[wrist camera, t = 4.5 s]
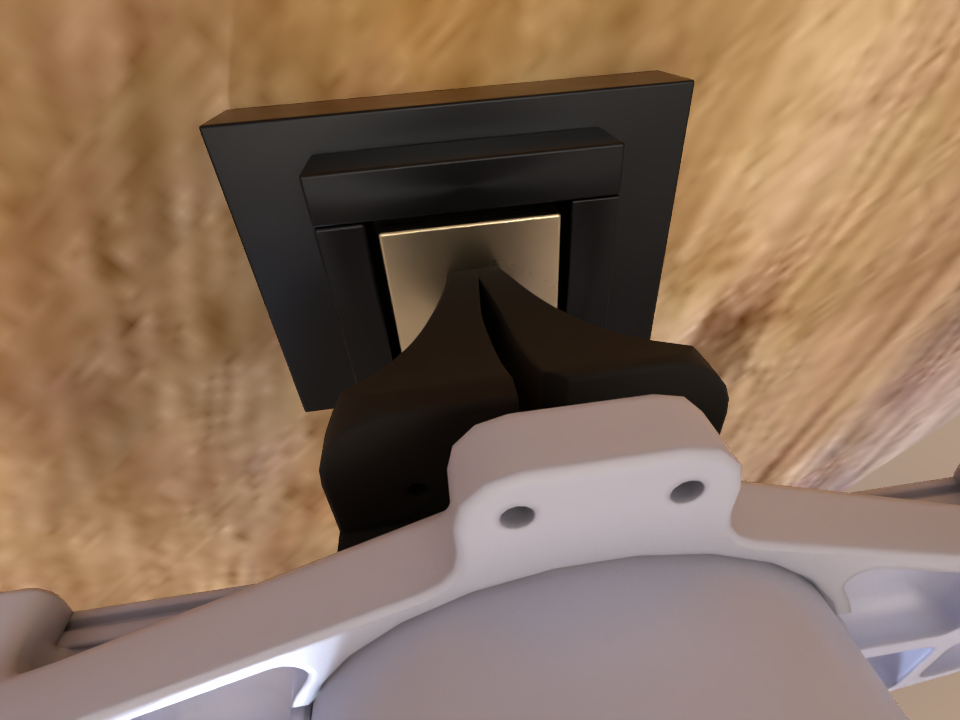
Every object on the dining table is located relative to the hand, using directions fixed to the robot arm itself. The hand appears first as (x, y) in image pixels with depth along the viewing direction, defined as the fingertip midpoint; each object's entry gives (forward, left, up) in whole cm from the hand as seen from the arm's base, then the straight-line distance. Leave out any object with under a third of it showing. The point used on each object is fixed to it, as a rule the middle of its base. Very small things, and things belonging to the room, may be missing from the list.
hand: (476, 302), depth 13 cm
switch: (0, 0, -2) cm, 2 cm away
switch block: (0, 0, -4) cm, 4 cm away
